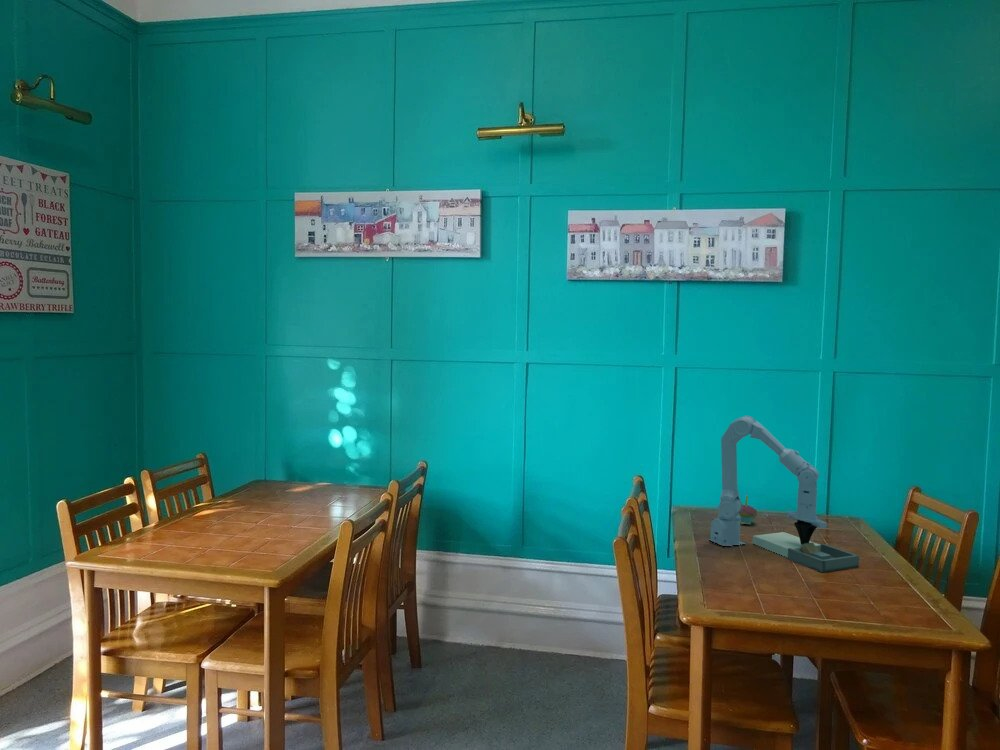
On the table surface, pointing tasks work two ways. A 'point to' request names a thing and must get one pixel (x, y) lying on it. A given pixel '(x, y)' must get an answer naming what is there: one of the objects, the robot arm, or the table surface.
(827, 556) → the tile
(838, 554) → the bin
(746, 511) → the cupcake
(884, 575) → the table surface
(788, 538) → the large sage green panel
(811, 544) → the tile
